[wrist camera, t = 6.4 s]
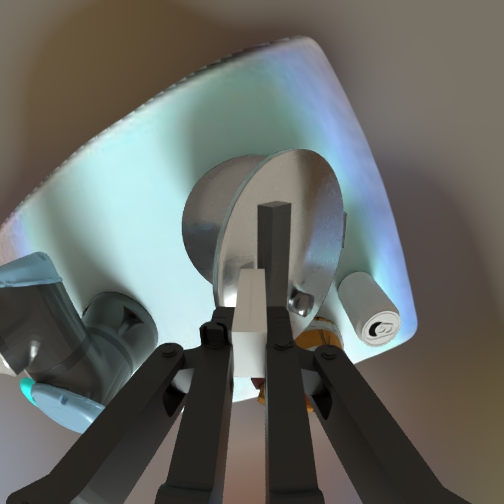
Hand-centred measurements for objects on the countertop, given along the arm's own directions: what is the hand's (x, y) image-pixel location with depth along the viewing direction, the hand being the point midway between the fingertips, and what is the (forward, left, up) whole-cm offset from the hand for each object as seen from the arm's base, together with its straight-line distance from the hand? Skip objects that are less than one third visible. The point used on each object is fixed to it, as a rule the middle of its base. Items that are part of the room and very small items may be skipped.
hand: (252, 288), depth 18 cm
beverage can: (+16, -12, -23) cm, 31 cm away
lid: (+3, 0, -6) cm, 7 cm away
